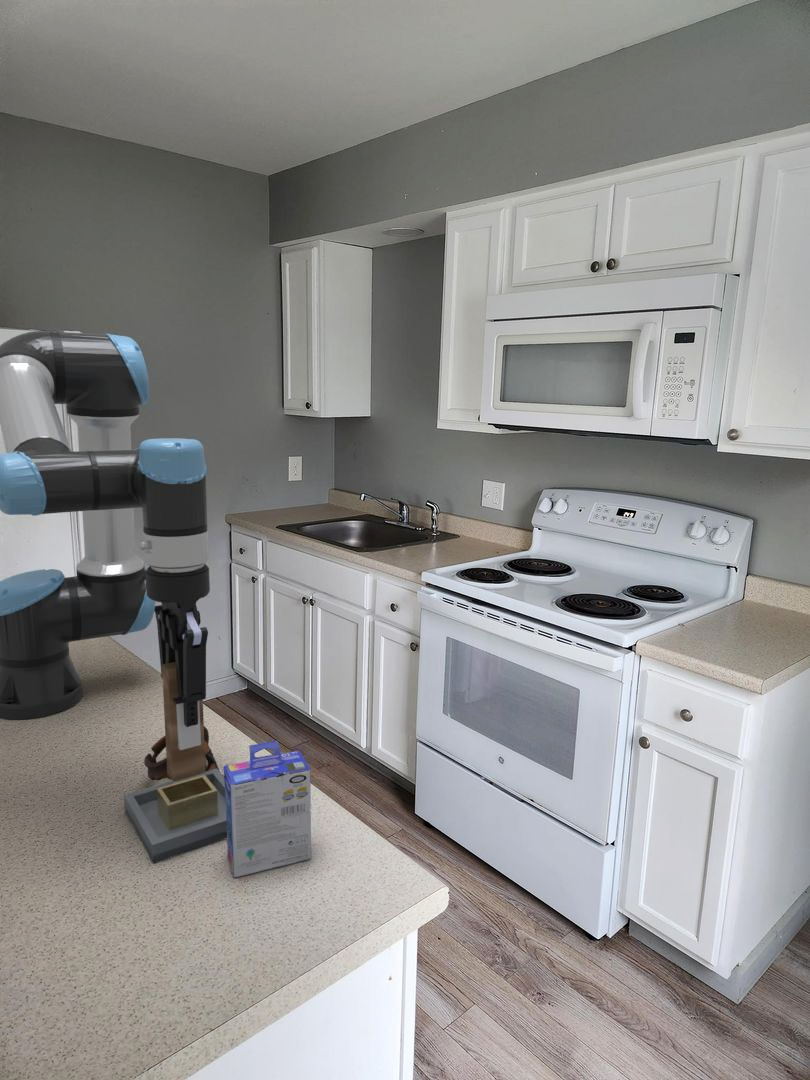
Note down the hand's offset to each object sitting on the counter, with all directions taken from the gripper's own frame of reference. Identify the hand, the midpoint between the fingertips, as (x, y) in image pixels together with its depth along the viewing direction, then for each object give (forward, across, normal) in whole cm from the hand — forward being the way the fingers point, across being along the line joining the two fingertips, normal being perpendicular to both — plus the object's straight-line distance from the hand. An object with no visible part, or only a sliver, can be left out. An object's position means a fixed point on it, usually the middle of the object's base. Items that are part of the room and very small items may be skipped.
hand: (185, 740), depth 95 cm
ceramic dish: (+12, 0, 0) cm, 12 cm away
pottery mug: (+12, -12, +4) cm, 17 cm away
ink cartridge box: (+12, +12, +6) cm, 18 cm away
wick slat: (+5, 0, 0) cm, 5 cm away
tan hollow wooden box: (+11, 0, 0) cm, 11 cm away
